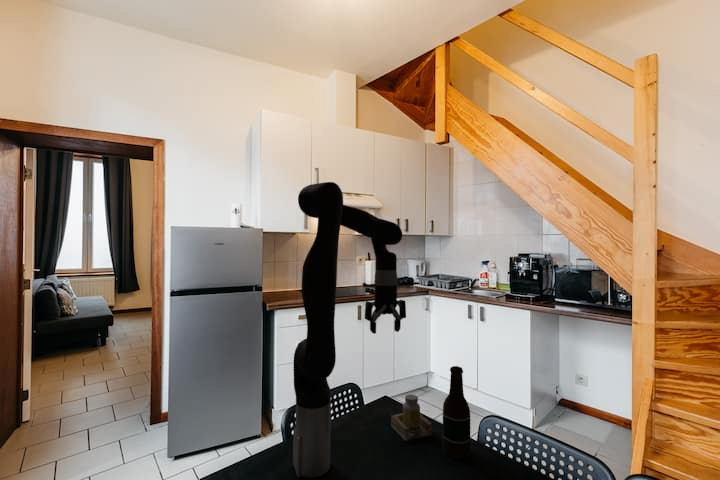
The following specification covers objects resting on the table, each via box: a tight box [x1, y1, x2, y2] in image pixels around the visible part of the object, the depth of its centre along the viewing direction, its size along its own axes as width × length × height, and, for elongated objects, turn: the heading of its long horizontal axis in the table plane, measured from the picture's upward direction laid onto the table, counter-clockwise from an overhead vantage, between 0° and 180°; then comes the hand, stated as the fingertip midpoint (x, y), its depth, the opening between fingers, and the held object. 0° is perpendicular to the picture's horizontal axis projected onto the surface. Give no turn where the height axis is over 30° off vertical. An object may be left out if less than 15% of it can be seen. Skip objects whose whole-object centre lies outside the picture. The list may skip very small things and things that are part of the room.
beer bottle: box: [442, 365, 471, 460], centre depth 100 cm, size 8×8×24 cm
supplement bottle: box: [402, 394, 421, 432], centre depth 111 cm, size 5×5×10 cm
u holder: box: [390, 412, 433, 442], centre depth 112 cm, size 9×9×4 cm
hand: (385, 332), depth 116 cm, fingers open, 8 cm apart
